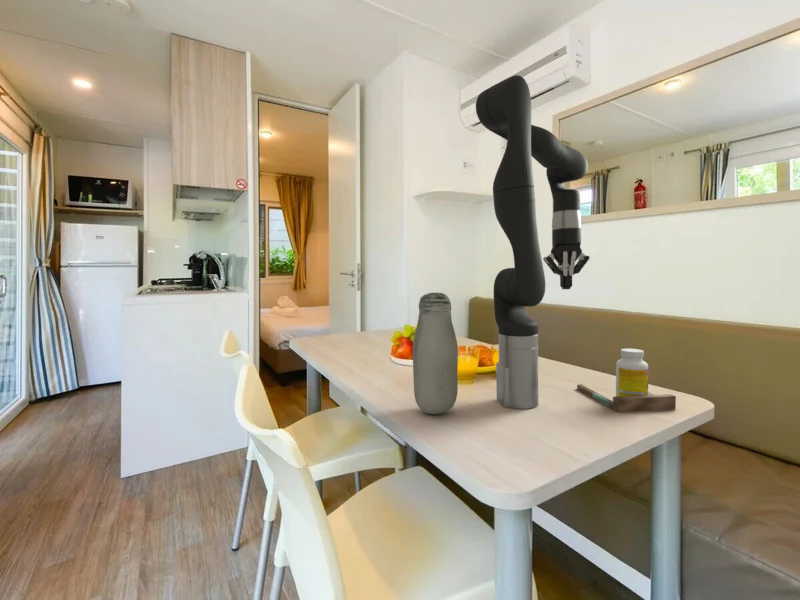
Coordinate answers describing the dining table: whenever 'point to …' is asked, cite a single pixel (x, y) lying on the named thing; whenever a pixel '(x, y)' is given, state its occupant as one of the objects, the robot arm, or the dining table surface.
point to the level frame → (634, 401)
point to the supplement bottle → (631, 373)
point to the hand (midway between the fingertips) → (566, 289)
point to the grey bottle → (435, 355)
